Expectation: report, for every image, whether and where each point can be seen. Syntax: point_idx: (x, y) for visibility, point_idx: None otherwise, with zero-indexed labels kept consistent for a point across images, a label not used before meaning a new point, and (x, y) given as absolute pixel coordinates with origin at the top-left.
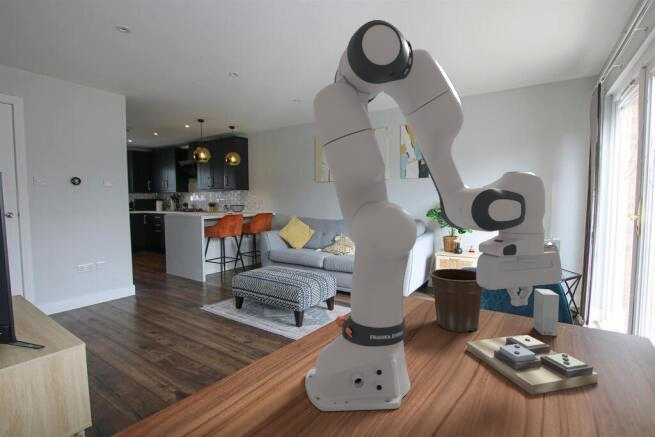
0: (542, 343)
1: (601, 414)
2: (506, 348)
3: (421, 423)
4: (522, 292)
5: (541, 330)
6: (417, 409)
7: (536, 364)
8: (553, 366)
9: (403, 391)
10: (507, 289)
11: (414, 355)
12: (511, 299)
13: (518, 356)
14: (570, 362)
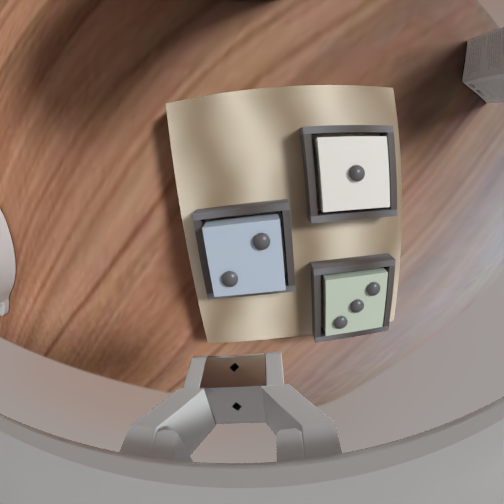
0: (383, 205)
1: (291, 382)
2: (216, 244)
3: (31, 342)
4: (281, 417)
5: (468, 78)
6: (26, 319)
7: None
8: (313, 304)
9: (5, 294)
10: (133, 433)
11: (36, 145)
12: (188, 379)
13: (220, 295)
14: (354, 317)
